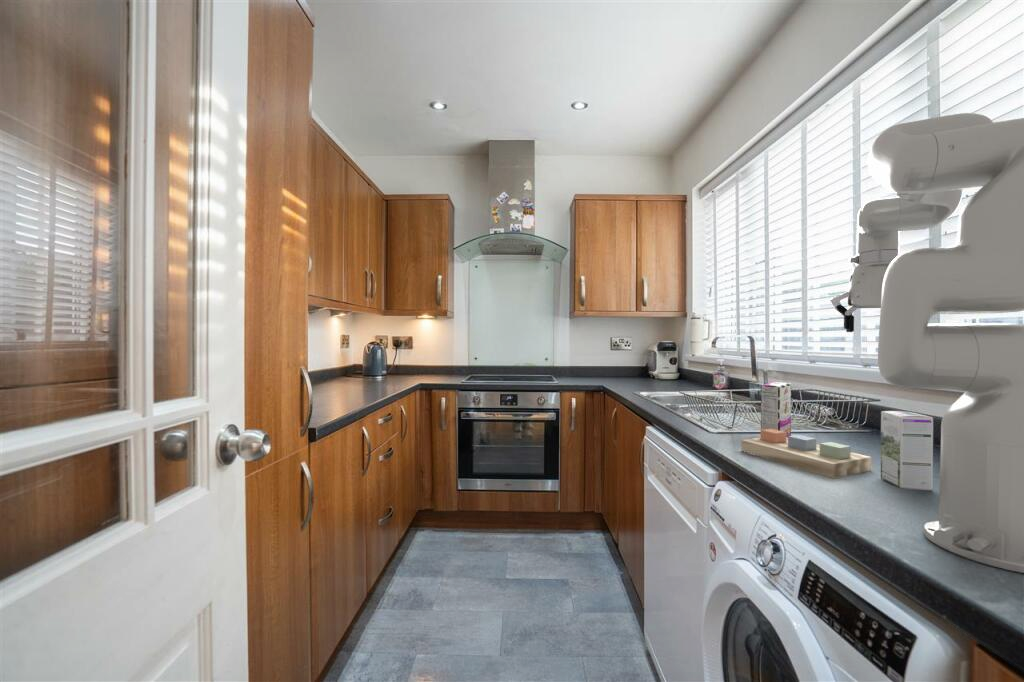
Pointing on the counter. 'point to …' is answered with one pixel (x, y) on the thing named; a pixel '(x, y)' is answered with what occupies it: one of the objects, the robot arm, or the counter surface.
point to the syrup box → (907, 449)
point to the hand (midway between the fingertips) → (875, 332)
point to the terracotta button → (773, 436)
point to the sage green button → (835, 450)
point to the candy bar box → (776, 407)
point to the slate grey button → (802, 442)
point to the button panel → (808, 458)
